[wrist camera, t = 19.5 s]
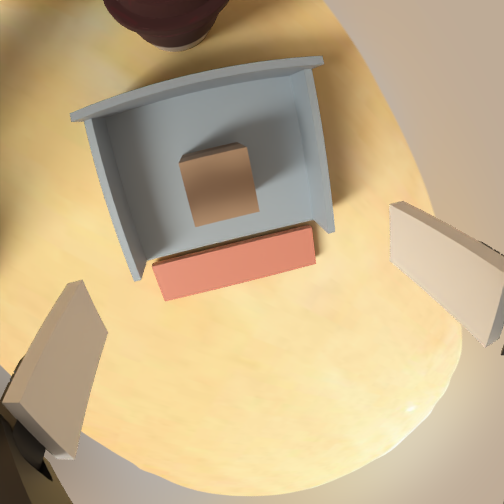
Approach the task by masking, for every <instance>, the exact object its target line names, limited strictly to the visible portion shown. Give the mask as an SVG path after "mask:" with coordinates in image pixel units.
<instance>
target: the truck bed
mask: <svg viewBox="0 0 504 504" xmlns="http://www.w3.org/2000/svg"><path fill="white" fill-rule="evenodd" d="M323 64H324V61H323V56H310V57H298V58H287V59H278V60H269V61H262V62H254V63H248V64H241V65H235V66H230V67H224V68H219V69H214V70H209V71H204V72H199V73H195V74H191V75H186V76H182V77H178V78H174V79H170V80H167V81H163V82H159V83H156V84H152V85H149V86H145V87H142V88H139V89H135V90H132V91H129V92H126V93H123V94H120V95H117V96H114V97H111V98H109V99H106V100H103V101H100V102H98V103H95V104H92V105H90V106H87V107H85V108H82V109H80V110H77V111H75V112H72V113H70V117H71V122H82V121H84V124H85V128H86V132H87V136H88V140H89V144H90V148H91V152H92V156H93V160H94V163H95V167H96V171H97V174H98V178H99V181H100V184H101V188H102V191H103V194H104V198H105V201H106V204H107V207H108V210H109V213H110V216H111V219H112V222H113V225H114V228H115V231H116V234H117V237H118V240H119V242H120V245H121V248H122V251H123V253H124V256H125V259H126V261H127V264H128V267H129V269H130V272H131V274H132V277H133V279H134V281H138V280H141V278H142V275H143V272H144V269H145V265H146V262H147V260H151V259H155V258H159V257H163V256H167V255H171V254H175V253H179V252H182V251H186V250H190V249H194V248H198V247H202V246H206V245H210V244H215V243H219V242H223V241H227V240H231V239H235V238H239V237H243V236H247V235H251V234H255V233H260V232H264V231H268V230H272V229H276V228H280V227H285V226H289V225H293V224H297V223H302V222H306V221H310V220H314V221H315V222H316V223H317V224H319V225H320V226H321V227H322V228H323V229H324V230H325V231H326V232H327V233H328V234H329V233H333V232H335V226H334V215H333V206H332V197H331V188H330V180H329V172H328V164H327V157H326V150H325V143H324V136H323V130H322V123H321V117H320V111H319V105H318V100H317V94H316V89H315V83H314V78H313V73H312V69H313V68H315V67H318V66H320V65H323ZM235 142H238V143H240V144H242V145H244V146H246V147H247V150H248V155H249V160H250V165H251V170H252V175H253V180H254V185H255V190H256V195H257V200H258V205H259V210H260V212H256V213H252V214H247V215H243V216H239V217H235V218H231V219H227V220H223V221H219V222H215V223H211V224H207V225H203V226H199V227H195V225H194V221H193V217H192V214H191V210H190V206H189V202H188V199H187V195H186V191H185V187H184V183H183V179H182V175H181V171H180V167H179V161H180V159H181V157H182V155H184V154H188V153H192V152H196V151H200V150H204V149H208V148H213V147H217V146H221V145H226V144H230V143H235Z"/></svg>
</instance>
